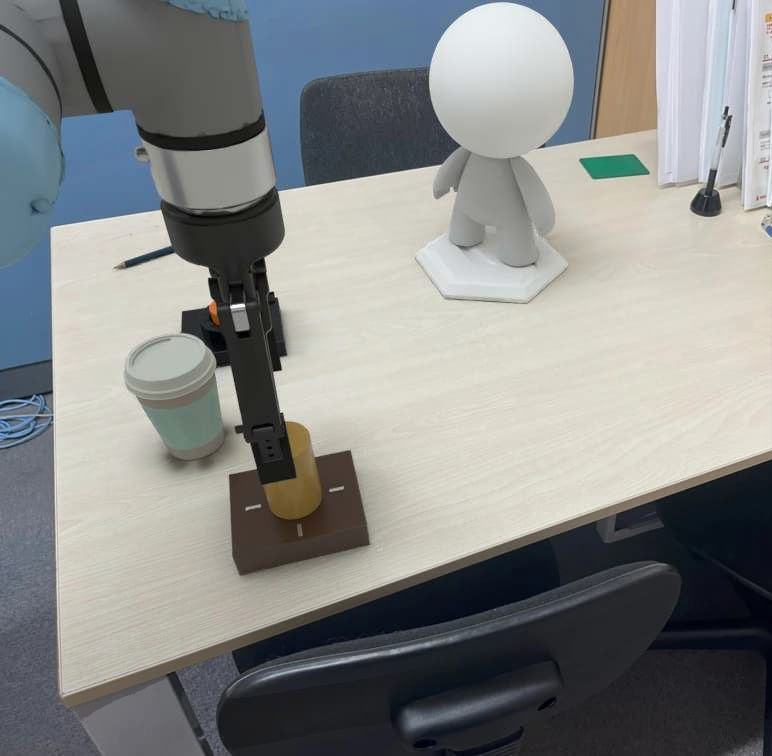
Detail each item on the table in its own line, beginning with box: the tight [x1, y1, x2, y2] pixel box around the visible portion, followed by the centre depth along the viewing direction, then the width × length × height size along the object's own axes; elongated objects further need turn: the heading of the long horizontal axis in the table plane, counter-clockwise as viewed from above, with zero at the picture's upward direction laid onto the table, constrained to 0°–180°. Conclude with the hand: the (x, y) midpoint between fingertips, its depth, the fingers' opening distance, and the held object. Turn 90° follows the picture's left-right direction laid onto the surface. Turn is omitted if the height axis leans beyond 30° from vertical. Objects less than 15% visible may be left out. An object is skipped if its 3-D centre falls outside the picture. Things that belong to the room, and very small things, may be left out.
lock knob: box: [263, 420, 322, 519], centre depth 65 cm, size 5×5×8 cm
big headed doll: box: [414, 1, 575, 304], centre depth 95 cm, size 20×23×35 cm
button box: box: [180, 296, 288, 368], centre depth 89 cm, size 12×10×4 cm
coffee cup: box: [123, 332, 225, 461], centre depth 73 cm, size 8×9×12 cm
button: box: [208, 300, 220, 325], centre depth 88 cm, size 4×4×2 cm
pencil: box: [113, 245, 175, 269], centre depth 105 cm, size 1×1×15 cm
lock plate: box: [228, 449, 371, 576], centre depth 69 cm, size 12×10×3 cm
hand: (272, 420), depth 61 cm, fingers open, 13 cm apart
